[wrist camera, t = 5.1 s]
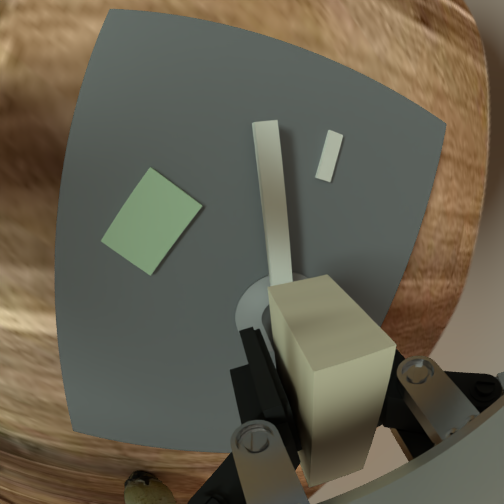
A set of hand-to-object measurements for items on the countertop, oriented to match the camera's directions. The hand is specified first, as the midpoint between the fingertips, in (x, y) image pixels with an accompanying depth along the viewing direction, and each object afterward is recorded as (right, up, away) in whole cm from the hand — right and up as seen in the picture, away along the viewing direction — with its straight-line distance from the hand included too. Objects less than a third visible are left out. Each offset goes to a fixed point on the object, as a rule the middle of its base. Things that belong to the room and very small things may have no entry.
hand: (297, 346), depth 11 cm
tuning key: (-1, +3, +1) cm, 3 cm away
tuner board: (-3, +2, +4) cm, 5 cm away
